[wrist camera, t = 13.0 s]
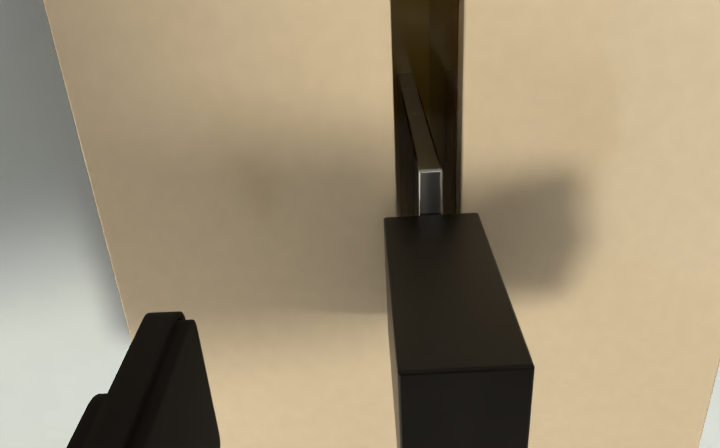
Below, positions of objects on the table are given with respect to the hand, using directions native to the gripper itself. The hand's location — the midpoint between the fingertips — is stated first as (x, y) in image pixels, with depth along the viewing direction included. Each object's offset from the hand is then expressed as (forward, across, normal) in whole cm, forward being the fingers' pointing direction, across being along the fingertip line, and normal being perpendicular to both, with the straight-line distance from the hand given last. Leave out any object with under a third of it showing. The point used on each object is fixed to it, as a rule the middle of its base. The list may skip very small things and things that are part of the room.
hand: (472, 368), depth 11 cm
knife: (+11, 0, +1) cm, 11 cm away
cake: (+12, 0, 0) cm, 12 cm away
